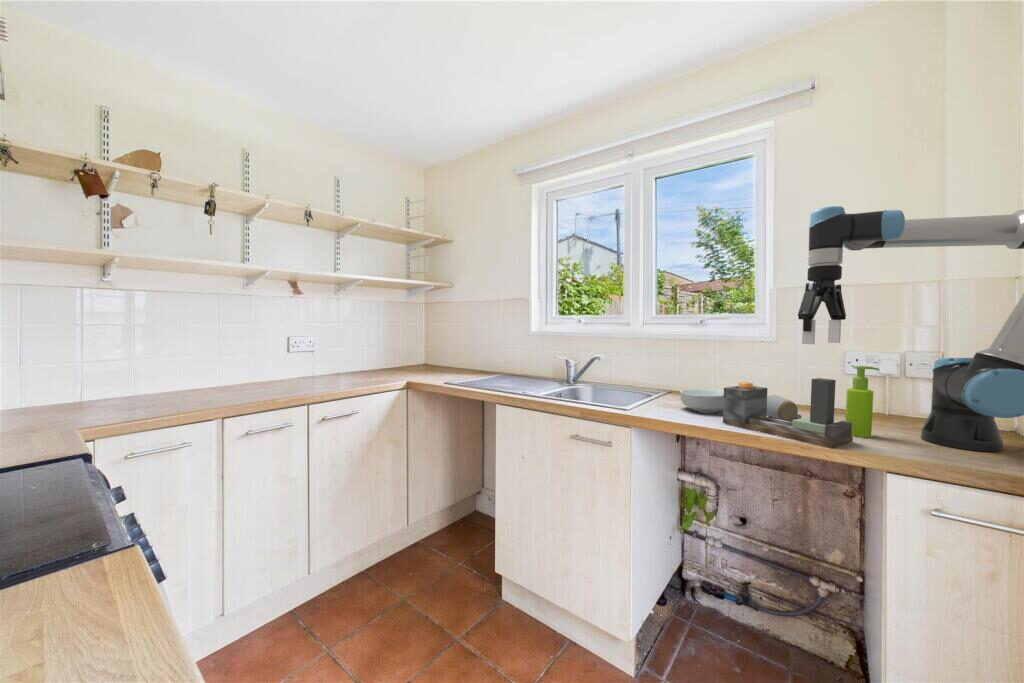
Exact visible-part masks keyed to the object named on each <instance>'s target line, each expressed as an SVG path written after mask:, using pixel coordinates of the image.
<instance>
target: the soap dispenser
mask: <svg viewBox="0 0 1024 683" xmlns="http://www.w3.org/2000/svg"><path fill="white" fill-rule="evenodd" d="M853 369H855V370H856V376H854V377H852V388H851V387H850V388H847V389H846V400H845V402H846V403H845V404H846V405H845V421H847V422H852V432H851V436H853V438H860V437H861V439H870V438H872V428H873V408H874V407H873V406H874V390H871V389H869V378H868V377H866V376H865V372H866V371H865V370H875V371H879V370H880V368H877V367H874V366H867V365H860V366H859V365H857V366H853Z"/></svg>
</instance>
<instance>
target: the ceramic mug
mask: <svg viewBox="0 0 1024 683" xmlns="http://www.w3.org/2000/svg"><path fill="white" fill-rule="evenodd" d="M798 411H799V409H798V406H797V404H795V402H793V401H792V400H789V399H786V398H784V397H783V396H778V395H776V394H770V395H767V414H766V417H769V418H771V417H772V418H775V419H779V420H784V421H789V422H792V420H796V419H801V418H803V416H802V415H801V414H800V413H799V412H798ZM795 418H796V419H795Z"/></svg>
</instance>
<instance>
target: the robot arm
mask: <svg viewBox="0 0 1024 683" xmlns="http://www.w3.org/2000/svg"><path fill="white" fill-rule="evenodd" d="M809 218H810V219H809V227H808V230H809V231H808V255H807V257H806V258H807V259H808V262H807V265H808V266H809V267H808V268H807V281H808V282H806V283H805V289H804V293H803V297H802V299H801V300H802V301H801V303H800V307H799V310H798V312H797V313H798V314H797V316H798V320H802V339H801V341H802V342H801V344H802V345H816V343H815V342H816V324H817V323H816V322H817V320H816V319H814V318H815V316H816V315H817V312H818V311H819V308H820V306H821V304H822V303H824V305H825V307H826V309H827V312H828V314H829V318H830V319H828V329H827V330H828V332H827V343H828V344H841V334H842V333H841V332H842V330H841V329H842V321H843V320H846V319H847V318H846V317H847V314H846V313H847V312H846V308H845V305H844V298H843V293H842V284H839V283H838V284H836V283H835V282H836V281H839V280H841V279H842V277H843V276H842V275H843V273H842V272H843V267H842V266H841V265H842V264H843V262H844V261H843V257H844V256H843V254H844V253H843V252H844V249H846V250H848V251H852V252H853V251H861V250H864V249H865V250H866V249H884V248H885V249H887V248H889V249H891V248H928V247H929V248H934V247H935V248H937V247H939V248H940V247H975V246H978V247H979V246H980V247H981V246H983V247H984V246H1005V247H1006V248H1008V249H1009V250H1016V249H1017V250H1021V249H1024V209H1019V210H1016V211H1015V212H1012V214H1000V215H995V214H994V215H976V216H974V215H973V216H957V217H937V218H936V217H934V218H915V219H913V218H912V219H905V218H906V217H905V214H904V212H903V211H902V210H900V209H896V210H894V209H891V210H889V209H888V210H887V209H884V210H878V211H868V212H858V213H846V211H845V207H843V206H841V205H840V206H839V205H837V206H835V205H834V206H833V205H831V206H824V207H821V208H817V209H815V210H813V211H812V212H811V213H810V217H809ZM933 363H934V364H933V368H932V374H933V375H932V388H931V389H932V392H931V408H930V413H929V415H928V417H927V418H926V421H925V422H924V425H923V426H922V427H921V431H920V432H921V433H920V438H921V439H922V440H924V441H926V442H930V443H931V444H932V443H933V444H936V445H941V446H944V447H945V446H946V447H950V448H956V449H962V450H968V451H978V452H1002V451H1003V449H1004V440H1003V437H1002V435H1001V432H1000V430H999V428H998V425H997V423H996V420H995V418H1000V419H1014V418H1018V417H1023V416H1024V293H1022V295H1021V297H1020V298H1019V300H1018V302H1017V303H1016V305H1015V307H1014V308H1013V309H1012V311H1011V312H1010V314H1009V316H1008V318H1007V319H1006V321H1005V322H1004V323H1003V325H1002V327H1001V329H1000V330H999V332H998V334H997V335H996V337H995V338H994V340H993V342H992V343H991V344H990V346H989V347H988V348H986V349H983V350H979V351H976V353H975V354H974V355H973V357H941V358H937V359H935V361H934V362H933Z"/></svg>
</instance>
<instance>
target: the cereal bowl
mask: <svg viewBox="0 0 1024 683" xmlns="http://www.w3.org/2000/svg"><path fill="white" fill-rule="evenodd" d="M679 392H680V395H679V397H680V401H681V403H682V404H683V405H684V406H686V407H687V408H689V409H692V411H694V410H695V411H694V412H696V411H699V412H698V413H702V412H707V413H706V414H715V413H717V412H718V411H720V410H723V400H724V390H719V389H713V388H685V389H684V388H683V389H681V390H680V391H679ZM714 412H715V413H714Z"/></svg>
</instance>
